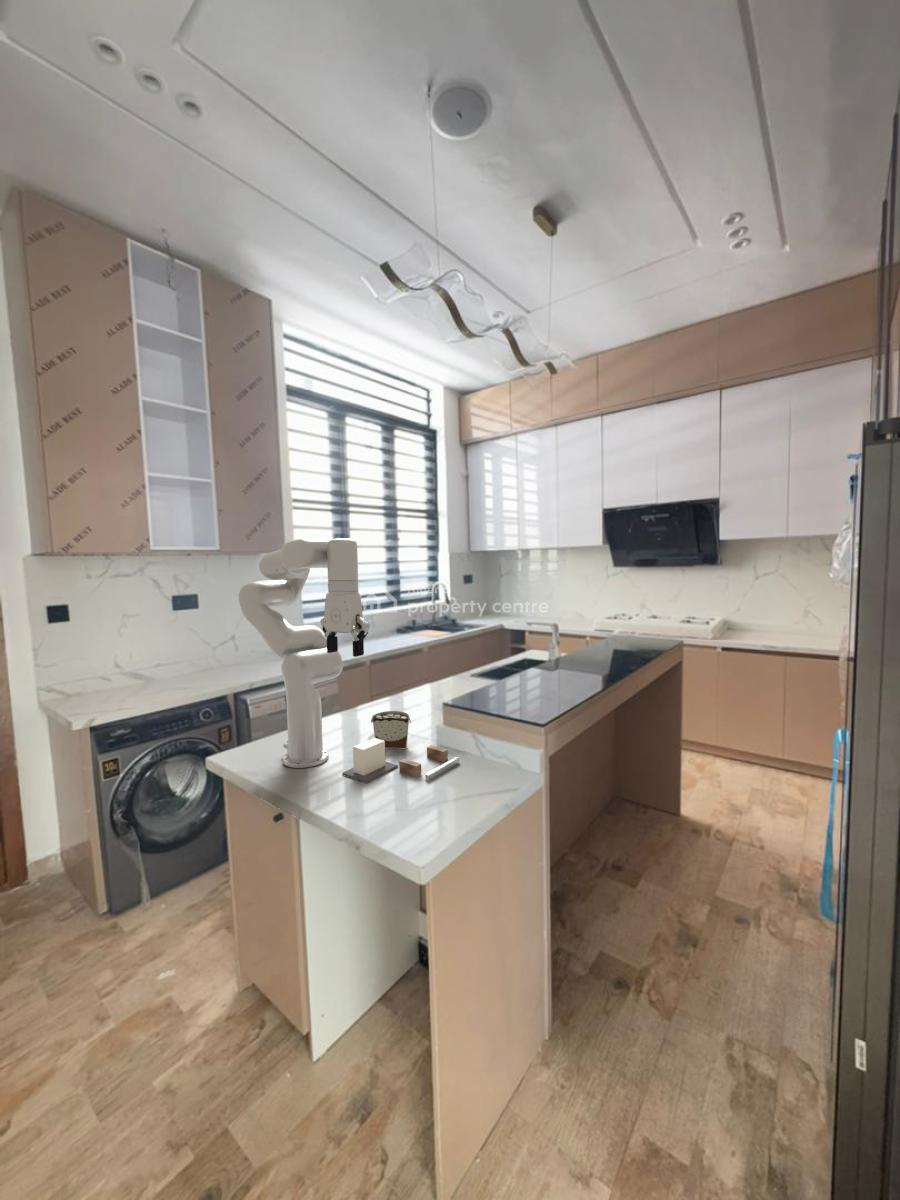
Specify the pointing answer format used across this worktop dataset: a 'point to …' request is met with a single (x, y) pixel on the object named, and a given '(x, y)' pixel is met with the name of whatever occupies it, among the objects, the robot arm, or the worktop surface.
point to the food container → (391, 728)
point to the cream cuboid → (369, 756)
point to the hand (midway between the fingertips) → (345, 653)
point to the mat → (371, 775)
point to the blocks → (432, 753)
